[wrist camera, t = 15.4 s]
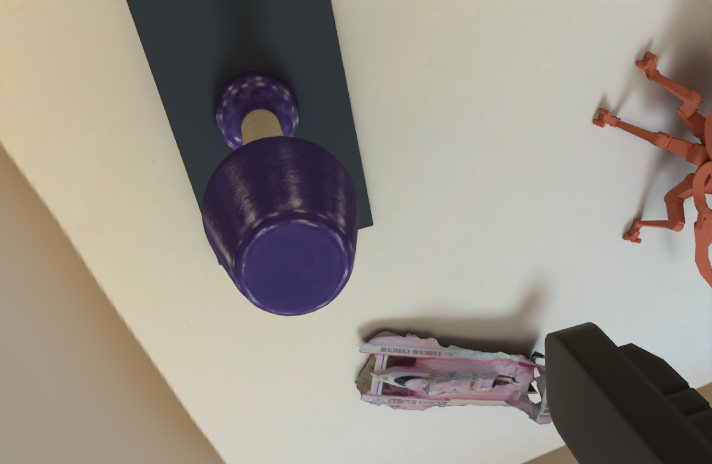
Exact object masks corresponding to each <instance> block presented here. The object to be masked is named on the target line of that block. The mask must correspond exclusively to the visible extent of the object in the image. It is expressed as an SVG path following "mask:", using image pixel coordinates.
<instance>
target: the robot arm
mask: <svg viewBox="0 0 712 464" xmlns="http://www.w3.org/2000/svg"><path fill="white" fill-rule="evenodd" d="M545 372H546V400H547V406H548V409H549V413H550V416H551V418H552V421H553V423H554V425H555V427H556V429H557V431H558V433H559V434H560V436H561V438H562V439H563V440H564V442H565V443H566V445H567V446H568V448H569V449H570V451H571V452H572V454H573V455H574V457H575V458H576V460H577V461H578V463H579V464H712V408H711V407H710V405H709V402H707V401H706V400H705V399H704V398H703V397H702V396H701V395H700V394H699V393H698V392H697V391H696V390H695V389H694V388H690V387H689V385H688V382H687V381H686V380H685V379H683V378H682V377H681V376H680V375H679V374H678V373H677V372H676V371H675V370H674V369H673V368H672V367H671V366H670V365H669V364H668V363H667V362H666V361H665V360H663V359H661V358H660V357H658V356H656V355H654V354H652V353H650V352H648V351H646V350H644V349H642V348H640V347H638V346H636V345H634V344H632V343H630V344H626V345H623V346H620V347H617V346H616V345H615V344H614V342H613V341H612V340H611V339H610V338H609V337H608V336H607V335H606V334H605V333H604V332H603V331H602V330H601V329H600V328H599V327H598V326H597V325H595V324H594V323H591V322H587V323H584V324H580V325H577V326H573V327H570V328H566V329H563V330H559V331H556V332H552V333H549V334H547V335H546V338H545Z"/></svg>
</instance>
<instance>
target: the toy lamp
mask: <svg viewBox="0 0 712 464" xmlns="http://www.w3.org/2000/svg"><path fill="white" fill-rule="evenodd" d="M299 116H300V112H299V106H298V102H297V99H296V97H295V95H294V93H293V92H292V90H291V89H290V88H289V87H288V85H287V84H285V83H284V82H283V81H281V79H279V78H278V77H276V76H273V75H271V74H268V73H264V72H246V73H242V74H240V75H237V76H236V77H234V78H232V79H231V80H230V81H228V82H227V83H226V84H225V85H224V86H223V88H222V89H221V91H220V92H219V94H218V96H217V98H216V101H215V105H214V121H215V125H216V128H217V130H218V133H219V135H220V136H221V138H222V139H223V140H224V142H225V143H226V144H227V145H228V146H230V147H231V148H232V149H234V151H233V152H232V153H230V154H229V155H228V156H227V157H226V158H225V159H223V160H222V161H221V163H220V164H219V165H218V167H217V168H216V169H215V171H214V172H213V174H212V176H211V178H210V179H209V181H208V184H207V186H206V190H205V193H204V198H203V203H202V221H203V225H204V230H205V234H206V236H207V239H208V241H209V243H210V245H211V247H212V249H213V251H214V253H215V254H216V256H217V258H218V259H219V261H220V262H221V264H222V266H223V267H224V269H225V270H226V272H227V273H228V275H229V276H230V278H231V279H232V281H233V282H234V284H235V285H236V287H237V288H238V290H239V291H240V292H241V293H242V294H243V295H244V296H245V297H246V298H247V299H248V300H249V301H250V302H251V303H252V304H253V305H255V306H256V307H258V308H260V309H262V310H264V311H267V312H269V313H273V314H277V315H283V316H297V315H303V314H307V313H311V312H314V311H316V310H318V309H320V308H322V307H324V306H326V305H328V304H329V303H330V302H331V301H332V300H334V299H335V298H336V297H337V296H338V295H339V293H340V292H341V291H342V289H343V288H344V287H345V285H346V283H347V282H348V280H349V278H350V275H351V273H352V270H353V266H354V261H355V253H356V243H357V232H358V219H359V204H358V197H357V192H356V188H355V185H354V183H353V180H352V178H351V176H350V175H349V173H348V171H347V170H346V168H345V167H344V166H343V164H342V163H341V162H340V161H339V160H338V159H337V158H336V157H335V156H334V155H333V154H332V153H331V152H329V151H328V150H326V149H325V148H323V147H321V146H320V145H318V144H316V143H313V142H311V141H308V140H305V139H302V138H298V137H294V136H295V134H296V131H297V129H298V125H299Z"/></svg>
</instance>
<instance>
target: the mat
mask: <svg viewBox="0 0 712 464" xmlns="http://www.w3.org/2000/svg"><path fill="white" fill-rule="evenodd" d="M127 3H128V6H129V9H130V12H131V15H132V17H133V20H134V23H135V26H136V29H137V32H138V35H139V37H140V40H141V43H142V46H143V49H144V52H145V54H146V57H147V60H148V63H149V66H150V69H151V72H152V74H153V77H154V80H155V83H156V86H157V89H158V91H159V94H160V97H161V100H162V103H163V106H164V109H165V111H166V114H167V117H168V120H169V123H170V126H171V128H172V131H173V134H174V137H175V140H176V143H177V146H178V148H179V151H180V154H181V157H182V160H183V163H184V165H185V168H186V171H187V174H188V177H189V180H190V183H191V185H192V188H193V191H194V194H195V197H196V200H197V202H198V205H199V208H200V211H201V214H202V203H203V198H204V193H205V190H206V186H207V184H208V181H209V179H210V178H211V176H212V174H213V172H214V171H215V169H216V168H217V167H218V165H219V164H220V163H221V161H222V160H223V159H225V158H226V157H227V156H228V155H229V154H230V153H232V152H233V151H234V149H232V148H231V147H230V146H228V145H227V144H226V143H225V142H224V140H223V139H222V138H221V136H220V135H219V133H218V130H217V128H216V125H215V121H214V105H215V101H216V98H217V96H218V94H219V92H220V91H221V89H222V88H223V86H224V85H225V84H226V83H227V82H228V81H230V80H231V79H232V78H234V77H236V76H237V75H240V74H242V73H246V72H264V73H268V74H271V75H273V76H276V77H278V78H279V79H281V81H283V82H284V83H285V84H287V85H288V87H289V88H290V89H291V90H292V92H293V93H294V95H295V97H296V99H297V102H298V106H299V112H300V116H299V125H298V129H297V131H296V134H295V136H294V137H298V138H302V139H305V140H308V141H311V142H313V143H316V144H318V145H320V146H321V147H323V148H325V149H326V150H328V151H329V152H331V153H332V154H333V155H334V156H335V157H336V158H337V159H338V160H339V161H340V162H341V163H342V164H343V166H344V167H345V168H346V170H347V171H348V173H349V175H350V176H351V178H352V180H353V183H354V185H355V188H356V192H357V197H358V204H359V219H358V229H361V228H365V227H369V226H373V220H372V215H371V210H370V205H369V199H368V194H367V189H366V184H365V178H364V173H363V168H362V163H361V157H360V152H359V147H358V142H357V136H356V131H355V126H354V121H353V115H352V110H351V105H350V99H349V94H348V89H347V84H346V78H345V73H344V68H343V63H342V57H341V52H340V47H339V42H338V36H337V31H336V26H335V21H334V15H333V10H332V5H331V0H127ZM216 257H217V256H216ZM217 259H218V258H217ZM218 262H219V265H222V264H221V262H220V261H219V259H218Z"/></svg>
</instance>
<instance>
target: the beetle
mask: <svg viewBox="0 0 712 464" xmlns="http://www.w3.org/2000/svg"><path fill="white" fill-rule="evenodd" d="M645 57H646V58H645V59H644V60H643V61H642V62H641V61H637V62H636V66H638V67H640V68H641V69H643V70H645V72H646V73H647V75H648V76H647V78H648V79H649V80H654V81H655V82H657V83H658V84H660V85H661V86H662V87H664V88H665V89H667V90H668V91H670V92H671V93H672V94H674V95H675V96H677V97H678V98H680V99H681V100H683V101H684V103H683V104H682V105H681V106H680V108H678V109H677V110H676V114H677V115H678V117H679V118H681V120H682V121H683V122H684V123H685V125H686V126H687V127H688V128H689V129H690V131H691V132H692V133H693V135H694V136H695V137H697V138H700V142H701V143H702V144H698V143H695V144H693V143H691V142H688V141H685V140H682V139H679V138H675V137H672V136H670V135H668V134H665V133H663V132H660V131H659V132H658V133H656V132H655V133H653V132H650V131H647V130H644V129H641V128H639V127H636V126H633V125H630V124H627V123H625V122H622V121H620V118H617V117H611V116H610V114H611V112H609V111H606V110H604V109H600V110H599V113H600V115H599V117H598V120H596V119H595V120H594V121H593V124H595V125H597V126H600V127H602V128H603V127H604V126H605V123H607V124H610V125H611V126H613V127H619V128H621V129H623V130H625V131H627V132H630V133H632V134H634V135H636V136H638V137H641V138H643V139H645V140H647V141H649V142H650V143H652V144H654V145H656V146H658V147H661V148H663V149H667V150H669V151H671V152H674V153H676V154H678V155H680V156H682V157H684V158H687V159H686V161H688V162H690V163H693V164H695V165H698V167H697V170H696V172H695V173H690V174H688V175H687V176H686V177H685V179H684V181H682V182H681V183H680V184H678V185H677V186H676V187H674V188H673V189H671V190H670V191H669V192H668V193H667V194H666V195H665V197H664V201H665V203H666V208H667V214H668V219H669V220H655V221H640V220H637V219H636V220H635V221H634V225H633V226H632V228H631V230H630V232H629V233H628V235H624V236H623V239H624V240H630V241H631V242H635V243H640V242H641V239H640V238H638V236H639V234H640V232H639V230H640V228H641V227H643V226H649V227H659V228H668V229H671V230H674V231H677V232H678V231H681V230H682V229H683V227H684V224H685V217H684V208H683V203H684V199H686V198H689V197H691V196H693V197H694V203H695V207H696V209H697V211H698V217H697V221H696V222H695V223H694V232H695V242H696V249H695V262H696V264H697V267H698V269H699V271H700V274H701V275H702V276H703V278H704V279H705V280H706V281H707V283H708V284H709V285H710V286H711V287H712V268H711V265H710V262H709V259H708V246H709V245H710V244H711V242H712V210H711V209H709V208H708V206H707V204H706V198H705V193H707V194H712V108H711V110H710V113H709V115H708V117H707V119H706V118H705V117H703V116H702V115H701V114H699V113H698V112H697V111H698V107H699V106H700V105H701V104H702V103H703V102H702V96H701V95H700V94H699V93H698V92H697V91H694V90H693V91H691V90H689V89H687V88H685V87H683V86H681V85H679V84H677V83H676V82H674V81H672V80H670V79H668V78H666V77H664V76H662V75H660V73H659V71H658V70H657V69H655V67H656V65H655V64H654V62H655V61H657V59H658V57H657V56H655V55H653V54H652V53H650V52H648V53H647V54H646V55H645Z"/></svg>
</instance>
